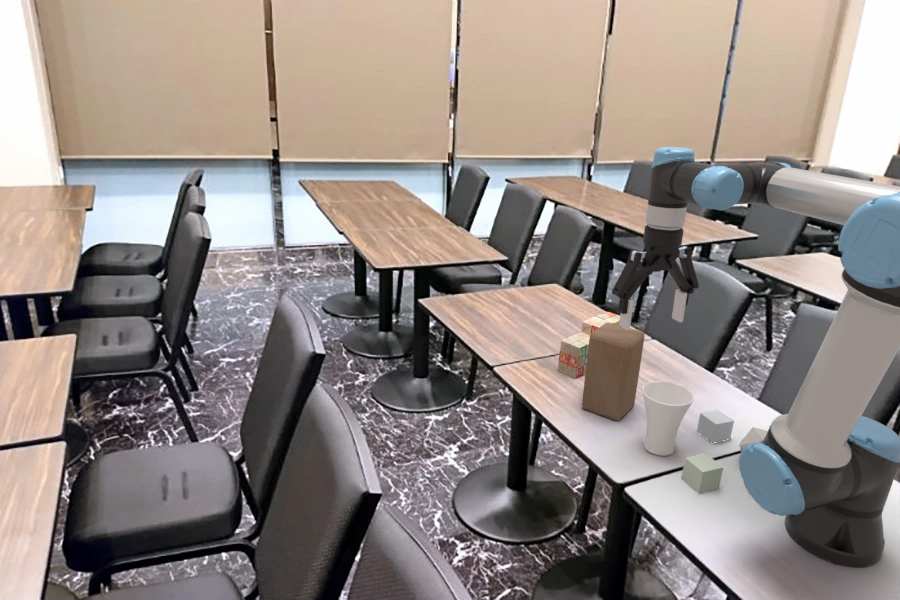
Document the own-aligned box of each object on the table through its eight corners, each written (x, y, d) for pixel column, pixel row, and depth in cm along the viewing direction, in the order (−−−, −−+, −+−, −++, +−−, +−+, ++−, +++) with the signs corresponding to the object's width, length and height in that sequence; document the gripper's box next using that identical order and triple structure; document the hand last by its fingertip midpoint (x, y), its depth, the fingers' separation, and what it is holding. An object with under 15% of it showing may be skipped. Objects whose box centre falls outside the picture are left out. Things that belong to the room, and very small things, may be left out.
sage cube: (718, 488, 125) (723, 467, 123) (698, 493, 123) (702, 472, 121) (701, 473, 129) (705, 453, 127) (681, 478, 128) (685, 457, 126)
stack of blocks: (575, 379, 166) (580, 337, 162) (557, 371, 170) (561, 329, 166) (621, 357, 180) (626, 317, 175) (602, 349, 184) (607, 310, 180)
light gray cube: (730, 440, 141) (734, 420, 140) (712, 443, 140) (716, 424, 138) (714, 428, 146) (717, 409, 144) (696, 432, 144) (700, 412, 142)
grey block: (760, 485, 127) (797, 453, 125) (726, 451, 130) (762, 420, 128) (761, 477, 135) (796, 447, 132) (729, 446, 138) (762, 416, 135)
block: (618, 423, 146) (630, 345, 139) (579, 409, 152) (588, 333, 145) (635, 406, 154) (646, 331, 147) (597, 393, 159) (606, 320, 152)
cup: (656, 466, 131) (665, 409, 126) (623, 439, 140) (631, 385, 135) (694, 455, 135) (705, 399, 130) (660, 430, 144) (669, 377, 139)
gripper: (700, 218, 135) (686, 311, 142) (601, 225, 127) (591, 324, 134) (726, 226, 128) (710, 323, 135) (623, 234, 120) (611, 337, 127)
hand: (651, 323), depth 135 cm, fingers open, 13 cm apart
